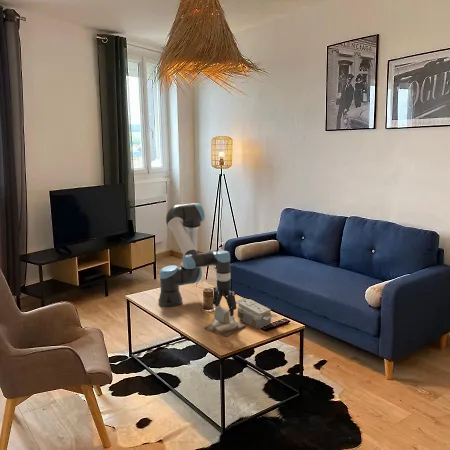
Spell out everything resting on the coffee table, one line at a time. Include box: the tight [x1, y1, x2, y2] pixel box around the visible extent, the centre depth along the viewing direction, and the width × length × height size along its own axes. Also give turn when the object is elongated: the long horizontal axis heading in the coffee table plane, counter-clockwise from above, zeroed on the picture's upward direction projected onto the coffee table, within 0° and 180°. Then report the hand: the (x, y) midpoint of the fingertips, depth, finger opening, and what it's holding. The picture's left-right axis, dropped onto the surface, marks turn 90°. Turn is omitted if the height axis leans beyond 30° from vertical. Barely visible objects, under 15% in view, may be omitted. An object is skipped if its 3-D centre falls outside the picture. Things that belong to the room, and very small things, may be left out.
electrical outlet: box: [235, 298, 278, 329], centre depth 255 cm, size 12×28×10 cm, turn 38°
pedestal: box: [203, 317, 246, 338], centre depth 248 cm, size 16×16×4 cm
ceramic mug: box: [213, 307, 235, 324], centre depth 248 cm, size 11×8×8 cm
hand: (224, 318), depth 248 cm, fingers closed on ceramic mug, 8 cm apart
